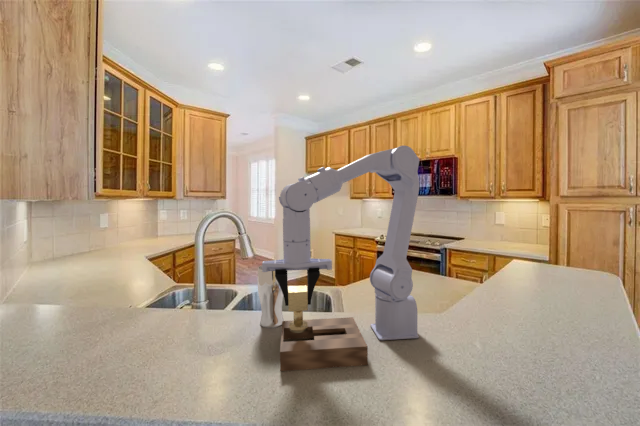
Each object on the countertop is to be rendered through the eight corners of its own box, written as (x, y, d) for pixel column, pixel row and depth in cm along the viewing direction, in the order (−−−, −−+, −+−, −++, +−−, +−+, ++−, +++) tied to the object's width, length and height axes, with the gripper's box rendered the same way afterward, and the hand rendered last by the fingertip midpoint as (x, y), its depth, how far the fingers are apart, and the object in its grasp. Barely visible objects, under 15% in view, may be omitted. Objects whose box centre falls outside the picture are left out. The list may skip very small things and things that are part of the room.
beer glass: (253, 325, 77) (251, 268, 76) (269, 315, 83) (267, 262, 82) (275, 331, 74) (273, 271, 73) (290, 320, 80) (289, 265, 79)
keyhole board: (353, 332, 72) (352, 317, 72) (367, 365, 58) (367, 346, 58) (282, 336, 71) (282, 321, 71) (280, 371, 57) (279, 351, 57)
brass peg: (307, 323, 67) (306, 285, 66) (308, 332, 63) (307, 291, 62) (289, 324, 66) (288, 286, 66) (289, 333, 62) (288, 292, 62)
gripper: (328, 236, 67) (329, 295, 68) (263, 238, 66) (265, 298, 67) (332, 241, 60) (333, 307, 61) (260, 243, 59) (262, 310, 60)
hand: (298, 303), depth 64 cm, fingers closed on brass peg, 4 cm apart
